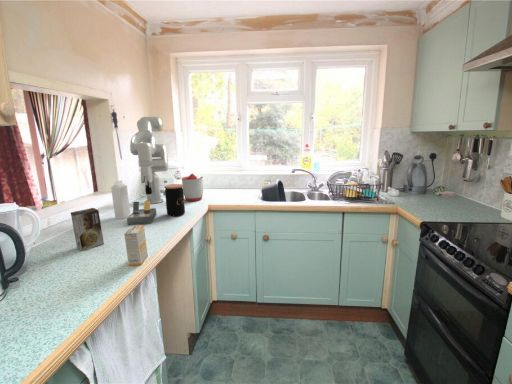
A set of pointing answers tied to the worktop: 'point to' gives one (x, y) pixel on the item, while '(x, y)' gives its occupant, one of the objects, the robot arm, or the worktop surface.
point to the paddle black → (135, 207)
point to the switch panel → (142, 217)
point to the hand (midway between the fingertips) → (149, 193)
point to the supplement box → (136, 245)
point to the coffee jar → (174, 200)
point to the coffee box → (87, 228)
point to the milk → (120, 200)
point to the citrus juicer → (192, 187)
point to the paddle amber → (146, 206)
